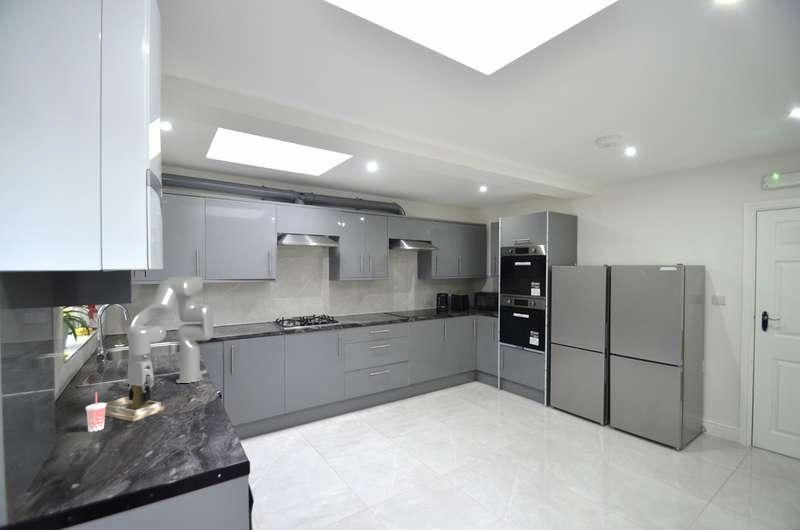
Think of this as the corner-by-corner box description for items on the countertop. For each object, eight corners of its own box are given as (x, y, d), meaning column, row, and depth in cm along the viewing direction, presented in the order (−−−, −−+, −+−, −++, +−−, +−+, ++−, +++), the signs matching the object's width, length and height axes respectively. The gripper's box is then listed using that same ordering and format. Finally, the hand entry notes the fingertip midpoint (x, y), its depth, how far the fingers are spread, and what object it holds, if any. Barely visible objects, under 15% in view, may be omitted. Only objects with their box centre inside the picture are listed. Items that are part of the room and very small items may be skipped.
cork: (139, 412, 148) (138, 385, 148) (127, 411, 149) (126, 385, 149) (152, 406, 153) (151, 381, 154) (140, 406, 155) (140, 380, 155)
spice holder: (127, 403, 163) (127, 395, 163) (164, 409, 155) (164, 401, 155) (95, 414, 151) (95, 405, 151) (132, 421, 143) (132, 412, 143)
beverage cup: (110, 427, 138) (110, 390, 138) (91, 433, 132) (91, 395, 132) (100, 424, 140) (100, 388, 140) (81, 431, 134) (82, 393, 135)
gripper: (162, 357, 152) (162, 399, 151) (135, 354, 158) (135, 395, 158) (144, 361, 145) (144, 405, 144) (116, 358, 151) (116, 400, 151)
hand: (139, 399), depth 151 cm, fingers open, 7 cm apart
